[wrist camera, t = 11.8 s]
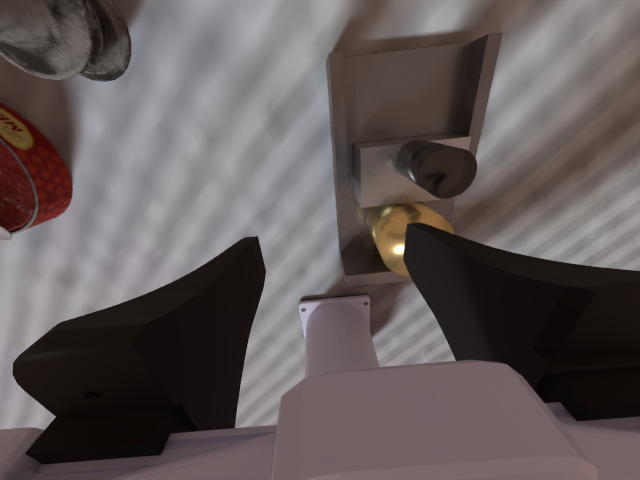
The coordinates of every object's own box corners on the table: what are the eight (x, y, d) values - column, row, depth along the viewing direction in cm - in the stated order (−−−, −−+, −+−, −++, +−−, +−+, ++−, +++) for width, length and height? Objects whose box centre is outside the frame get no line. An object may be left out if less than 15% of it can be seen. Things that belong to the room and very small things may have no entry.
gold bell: (420, 238, 21) (457, 279, 16) (367, 246, 22) (385, 288, 16) (425, 186, 19) (469, 213, 14) (364, 195, 19) (385, 225, 14)
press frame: (437, 252, 23) (463, 280, 19) (340, 262, 24) (346, 292, 20) (474, 44, 15) (530, 20, 11) (326, 62, 16) (331, 44, 12)
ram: (439, 186, 19) (506, 223, 12) (354, 195, 19) (377, 237, 13) (448, 130, 17) (533, 139, 10) (353, 140, 17) (379, 156, 11)
